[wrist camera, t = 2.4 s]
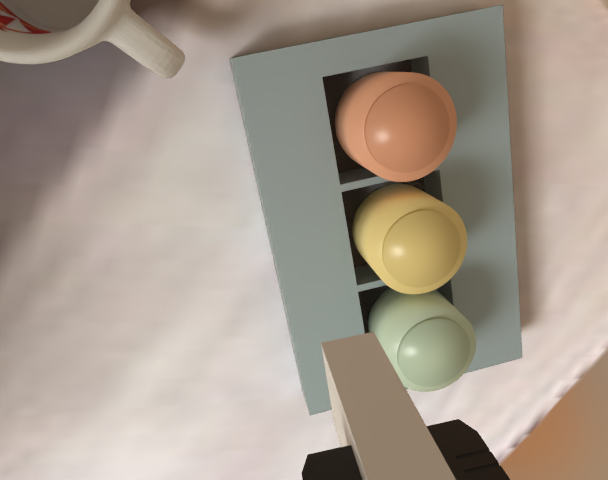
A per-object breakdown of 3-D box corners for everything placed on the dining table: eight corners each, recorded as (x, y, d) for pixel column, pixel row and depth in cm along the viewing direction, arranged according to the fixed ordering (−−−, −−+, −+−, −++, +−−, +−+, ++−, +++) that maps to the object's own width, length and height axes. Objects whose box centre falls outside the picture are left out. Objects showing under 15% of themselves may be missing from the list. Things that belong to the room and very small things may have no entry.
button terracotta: (342, 176, 29) (363, 193, 25) (327, 81, 27) (347, 84, 24) (430, 157, 30) (464, 170, 26) (420, 62, 28) (454, 62, 24)
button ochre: (359, 277, 31) (381, 306, 27) (345, 194, 29) (367, 213, 26) (441, 257, 32) (473, 283, 28) (432, 174, 30) (465, 190, 26)
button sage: (373, 365, 33) (396, 404, 29) (361, 292, 31) (383, 324, 28) (450, 345, 34) (482, 381, 30) (442, 272, 32) (475, 300, 28)
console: (302, 391, 35) (309, 415, 33) (229, 58, 28) (231, 58, 26) (501, 338, 37) (522, 357, 34) (478, 9, 30) (502, 4, 27)
